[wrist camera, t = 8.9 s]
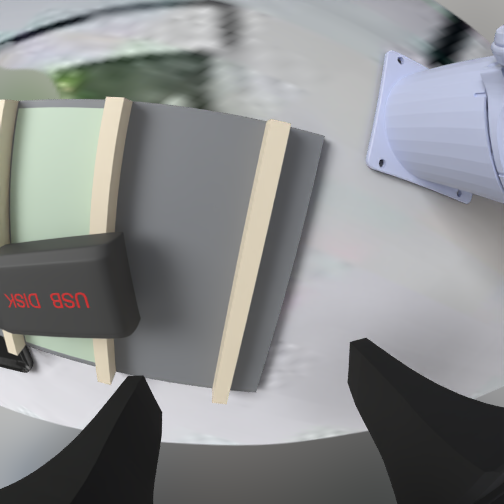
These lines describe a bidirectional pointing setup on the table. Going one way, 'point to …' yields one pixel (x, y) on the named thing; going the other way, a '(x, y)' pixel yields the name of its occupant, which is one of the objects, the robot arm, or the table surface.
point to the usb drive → (68, 288)
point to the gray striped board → (165, 226)
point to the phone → (15, 358)
